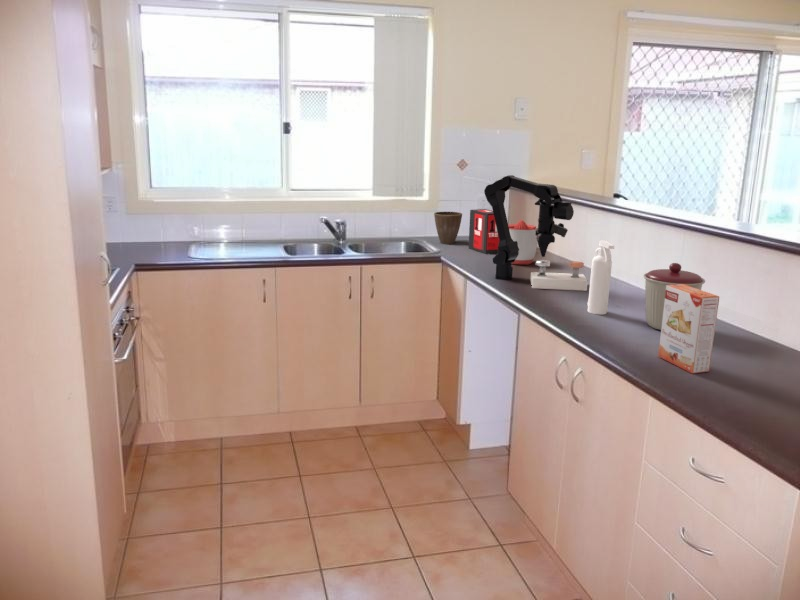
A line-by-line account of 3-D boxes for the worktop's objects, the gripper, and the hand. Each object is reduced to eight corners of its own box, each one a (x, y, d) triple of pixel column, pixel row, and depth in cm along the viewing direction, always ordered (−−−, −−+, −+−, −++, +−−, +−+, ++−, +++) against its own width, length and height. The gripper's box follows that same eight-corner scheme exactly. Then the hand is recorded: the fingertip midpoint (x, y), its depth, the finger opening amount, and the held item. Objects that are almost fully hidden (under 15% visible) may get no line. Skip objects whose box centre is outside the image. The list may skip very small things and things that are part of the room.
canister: (685, 320, 228) (693, 258, 222) (708, 336, 210) (717, 269, 205) (631, 319, 228) (637, 257, 223) (648, 335, 211) (656, 268, 205)
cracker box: (656, 357, 191) (665, 284, 185) (674, 355, 192) (683, 283, 187) (691, 374, 178) (701, 296, 172) (710, 372, 180) (721, 295, 174)
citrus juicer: (542, 266, 310) (545, 222, 305) (504, 265, 311) (506, 222, 306) (536, 260, 326) (539, 218, 321) (500, 259, 326) (502, 217, 321)
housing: (532, 288, 269) (532, 278, 268) (530, 281, 280) (530, 271, 279) (586, 290, 266) (587, 280, 265) (582, 283, 278) (583, 274, 277)
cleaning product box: (500, 253, 342) (503, 213, 337) (485, 254, 338) (487, 213, 333) (483, 247, 356) (485, 209, 351) (468, 248, 352) (470, 209, 347)
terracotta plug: (569, 276, 269) (570, 263, 268) (567, 273, 275) (568, 260, 273) (583, 277, 269) (584, 264, 267) (581, 274, 274) (582, 261, 273)
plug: (535, 275, 271) (536, 262, 269) (534, 272, 276) (535, 259, 275) (549, 276, 270) (550, 262, 269) (548, 273, 275) (549, 260, 274)
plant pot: (447, 246, 357) (448, 215, 353) (427, 242, 368) (428, 212, 364) (466, 243, 367) (468, 213, 363) (446, 239, 378) (447, 210, 374)
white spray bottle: (598, 305, 243) (604, 236, 236) (613, 316, 232) (620, 243, 225) (580, 306, 242) (585, 237, 235) (594, 317, 231) (600, 244, 224)
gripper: (569, 221, 257) (566, 262, 261) (564, 215, 275) (561, 253, 279) (539, 220, 259) (536, 260, 263) (536, 214, 277) (533, 252, 281)
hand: (543, 256), depth 271 cm, fingers closed
